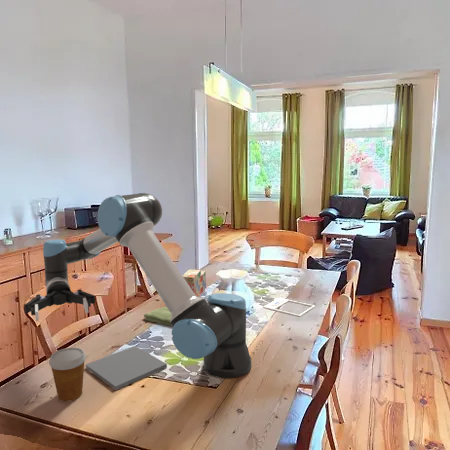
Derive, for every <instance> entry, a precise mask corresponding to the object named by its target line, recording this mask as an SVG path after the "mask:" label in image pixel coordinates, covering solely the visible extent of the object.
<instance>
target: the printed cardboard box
mask: <svg viewBox="0 0 450 450" xmlns="http://www.w3.org/2000/svg"><path fill="white" fill-rule="evenodd" d="M206 275H207V274H206V270H201V269H189V268H188V270H187V271H186V272H185V273H184V274H182V276H183V277H184V279H185V280H186V282H187V283H188V285H189V286H190V288H191V289H192V291H193V292H194V294H195V295H196V296H197V297H200V296H201V295H202V294H203V292H204V291H205V290H206V289H207V277H206ZM205 288H206V289H205ZM201 293H202V294H201ZM200 294H201V295H200Z"/></svg>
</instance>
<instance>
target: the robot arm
mask: <svg viewBox="0 0 450 450" xmlns="http://www.w3.org/2000/svg"><path fill="white" fill-rule="evenodd" d="M162 216H163V207H162V204H161V202H160V201H159V200H158V198H157V197H156V196H154V195H153V194H151V193H146V192H142V193H141V192H140V193H133V194H125V195H124V194H123V195H120V194H117V195H114V196H108V197H106V198H105V199H103V201H102V202H101V203H100V205H99V207H98V210H97V223H98V227H99V228H98V229H97V230H95V231H93V232H92V233H90V234H88V235H87V236H86V237H84V238H82V239H80V240H77V241H73V242H67V241H66V240H64V239H61V238H60V239H59V238H57V239H48V240H46V241H44V243H43V247H42V248H43V249H42V251H43V252H42V254H43V262H44V278H45V279H44V282H45V289H46V290H45V291H46V294H45V295H44V296H42V295H41V294H36V295H35V297H34V298H32V299H31V300H29V301H28V302H27V303H25V304H24V305H23V307H24V313H25V314H28V313H30V314H31V316H35V322H37V321H40V319H39V317H40V316H39V314H40V313H39V311H41V310H43V309H45V308H47V307H51V306H61V305H64V304H77V305H79V304H80V305H83V310H84V312H85V314H89V308H90V307H92V305H94V304H96V296H95V295H94V294H91V293H89V292H86V291H83V290H82V289H81V288H80V289H77V291H76V292H73V291H72V289H71V287H70V284H69V275H68V274H69V273H68V265H70V264H72V263H77V262H81V261H86V260H90V259H94V258H96V257H99V255H100V254H101V252H102V251H104V250H106V249H108V248H110V247H112V246H114V245H115V244H119V245H120V246H122V247H126V248H128V250H129V252H131V254H132V256H133V257H134V259H135V260H136V262H137V263H138V265H139V266H140V268H141V270H142V271H143V273H144V274H145V276H146V277H147V278H148V281H149V282H150V284H152V286H153V287H154V289H155V290H156V292H157V294H158V296H159V297H160V298H161V301H163V303H164V305H165V307H167V308H168V309H169V311H170V312H171V319H170V323H171V324H172V326H171V327H172V328H171V336H172V337H171V341H172V343H173V345H174V347H175V349H177V352H179V353H180V354H181V355H183V356H185V357H186V358H189V359H193V360H197V359H198V360H200V359H203V369H204V371H205V372H206V373H207V374H209V375H211V376H212V377H216V378H221V379H233V378H238V377H242V376H244V375H246V374H248V373H249V372H250V371H251V369H252V356H251V354H250V352H249V347H248V346H247V345H248V344H247V303H246V299H245V298H244V297H243V296H241V295H238V294H234V293H226V292H225V293H224V292H222V293H219V292H218V293H212V294H210V295H209V296H208V297H207V298H208V299H207V300H206V299H205V298H204V297H200V296H199V297H197V296H196V295H195V294H194V292H193V291H192V289H191V288H190V286H189V285H188V283H187V282H186V280H185V279H184V277H183V276H182V275H183V273H181V272H180V270H179V269H178V267H177V266H176V263H174V261H173V260H172V258H171V257H170V255H169V254H168V252H167V251H166V249H165V248H164V246H163V245H162V243H161V242H160V240H159V239H158V237H157V236H156V234H155V233H154V232H153V231H154V230H153V229H154V226H156V225H157V224H158V223H159V222H161V218H162ZM66 242H67V243H66Z"/></svg>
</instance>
